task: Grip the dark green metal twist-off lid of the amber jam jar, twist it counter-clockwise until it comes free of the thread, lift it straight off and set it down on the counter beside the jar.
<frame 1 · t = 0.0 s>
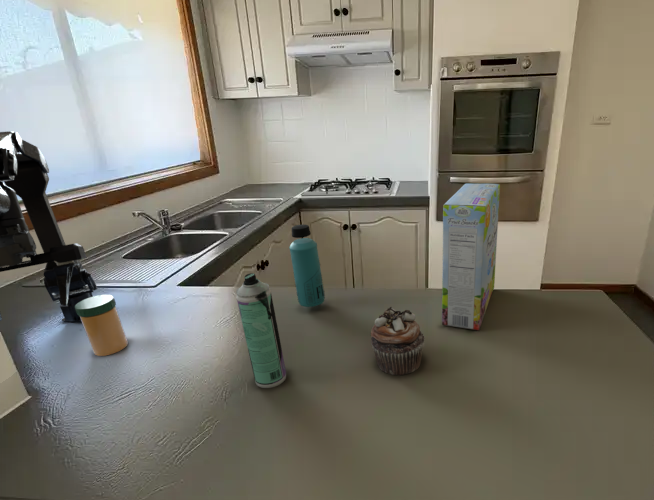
hand: (33, 313, 71), 15 cm above the table, tool pointing down, fingers open, 9 cm apart
beverage bottle: (312, 307, 101), on the table
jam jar: (111, 347, 90), on the table
cupcake: (399, 363, 77), on the table
jam lid: (94, 303, 86), point 11 cm above the table, screwed on, not yet turned
snack box: (471, 307, 95), on the table
spray can: (271, 379, 75), on the table
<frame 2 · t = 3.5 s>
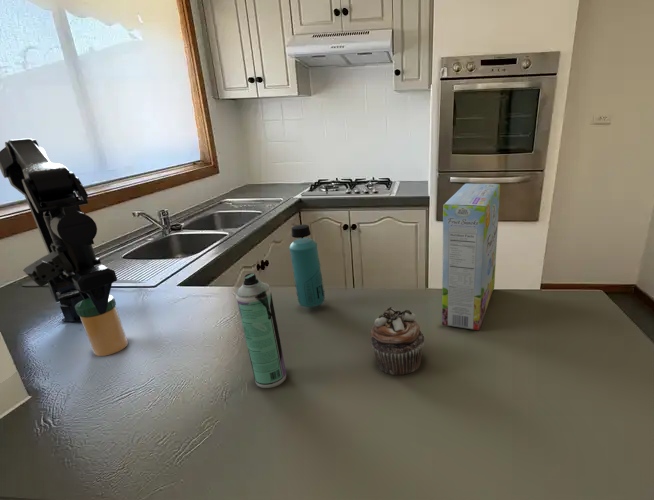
hand: (97, 309, 86), 9 cm above the table, tool pointing down, fingers closed on jam lid, 7 cm apart
jam lid: (94, 303, 86), point 11 cm above the table, screwed on, not yet turned, touching gripper
everything else where it was.
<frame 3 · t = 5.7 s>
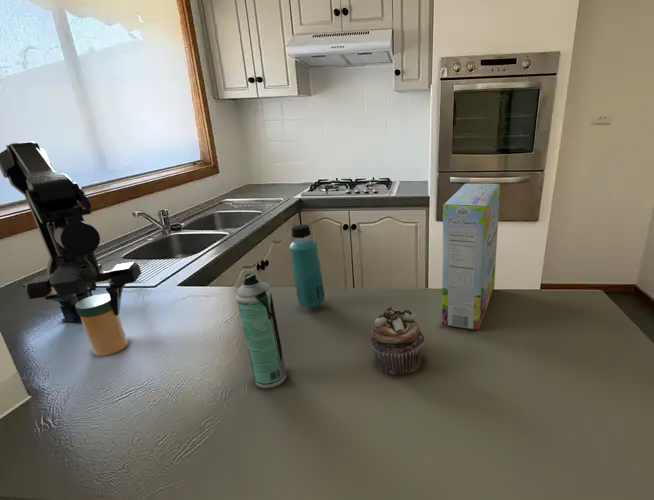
hand: (99, 317, 87), 7 cm above the table, tool pointing down, fingers closed on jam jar, jam lid, 6 cm apart
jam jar: (111, 347, 90), on the table, touching gripper
jam lid: (94, 302, 86), point 11 cm above the table, turned 53° so far, risen 0.1 cm, still on its thread, touching gripper
everything else where it was.
when the fingers open (7 cm above the table, at t = 7.6 s): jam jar stays where it is, on the table; jam lid stays where it is, point 11 cm above the table.
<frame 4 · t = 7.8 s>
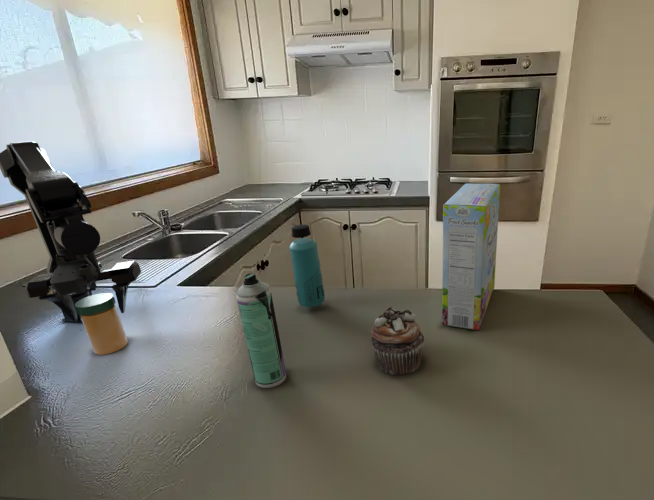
hand: (99, 316, 87), 8 cm above the table, tool pointing down, fingers open, 9 cm apart
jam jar: (111, 346, 90), on the table
jam lid: (94, 301, 86), point 11 cm above the table, turned 53° so far, risen 0.1 cm, still on its thread
everything else where it was.
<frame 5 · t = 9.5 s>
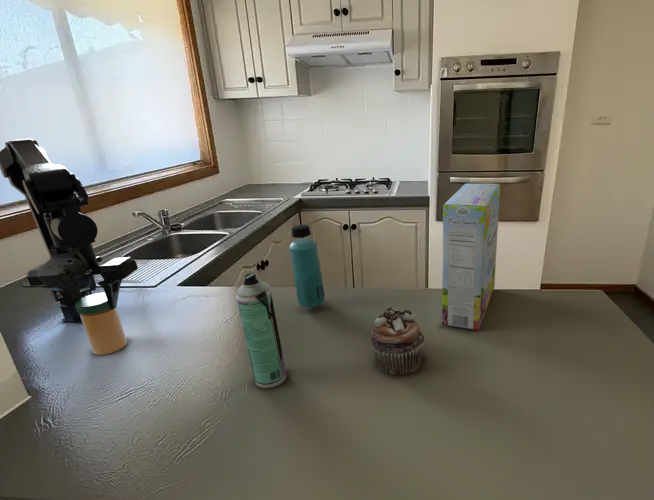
hand: (97, 309, 87), 9 cm above the table, tool pointing down, fingers closed on jam lid, 7 cm apart
jam lid: (95, 300, 86), point 11 cm above the table, turned 92° so far, risen 0.3 cm, still on its thread, touching gripper
everything else where it was.
when the fingers open (9 cm above the table, at t = 10.1 s): jam lid stays where it is, point 11 cm above the table.
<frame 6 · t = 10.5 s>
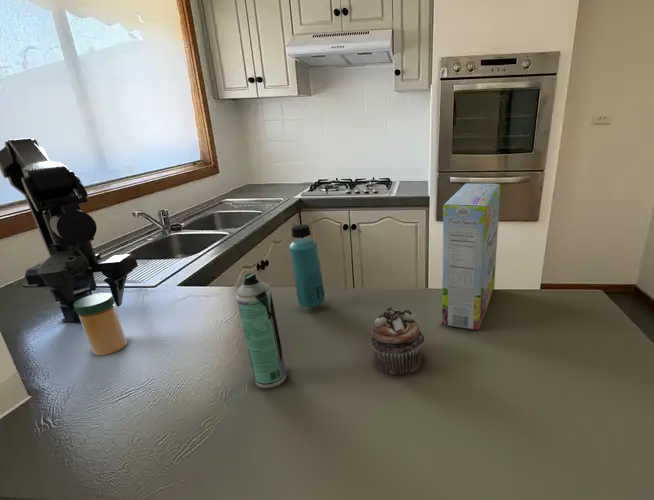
hand: (96, 307, 86), 10 cm above the table, tool pointing down, fingers open, 9 cm apart
jam lid: (93, 301, 86), point 11 cm above the table, turned 107° so far, risen 0.3 cm, still on its thread
everything else where it was.
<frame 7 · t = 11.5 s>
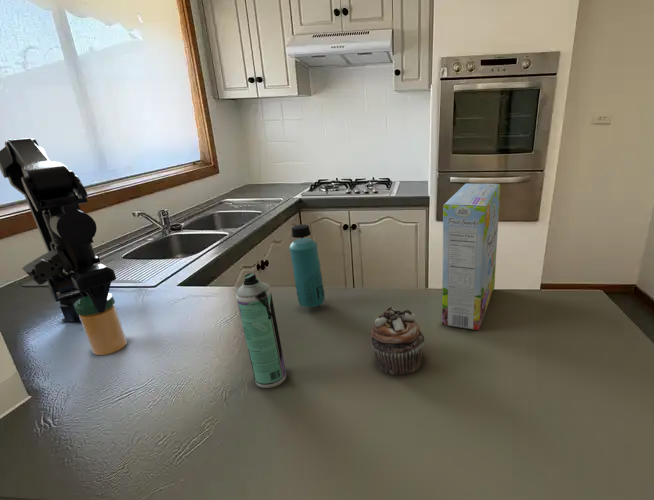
hand: (96, 307, 86), 10 cm above the table, tool pointing down, fingers closed on jam lid, 7 cm apart
jam lid: (93, 301, 86), point 11 cm above the table, turned 107° so far, risen 0.3 cm, still on its thread, touching gripper
everything else where it was.
when the fingers open (0 cm above the table, at t = 19.1 s): jam lid stays where it is, point 1 cm above the table.
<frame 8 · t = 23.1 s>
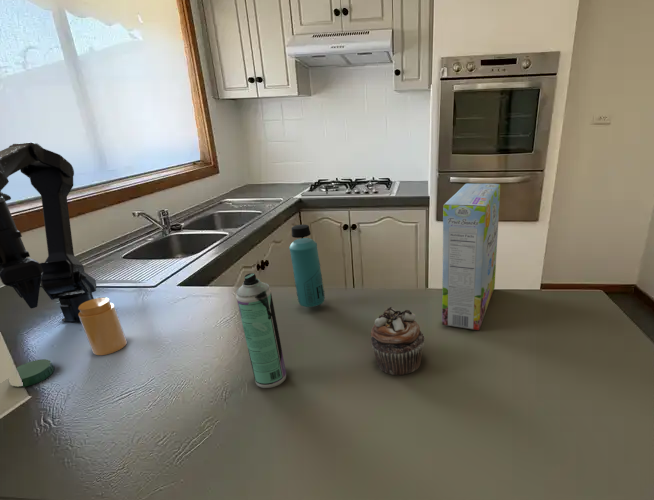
hand: (28, 302, 87), 12 cm above the table, tool pointing down, fingers open, 9 cm apart
jam lid: (30, 370, 81), point 1 cm above the table, off its thread
everything else where it was.
at the end: jam lid came off its thread; jam lid point 1.4 cm above the table; the gripper is holding nothing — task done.
